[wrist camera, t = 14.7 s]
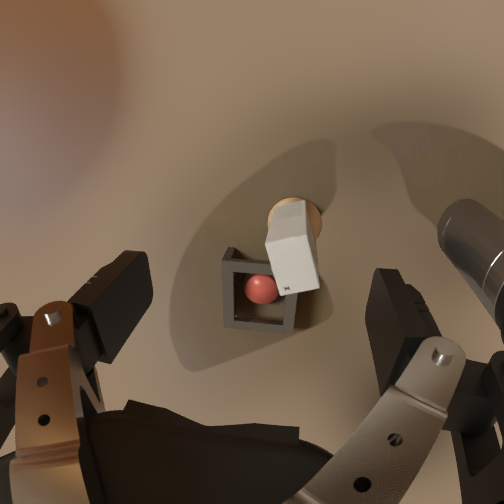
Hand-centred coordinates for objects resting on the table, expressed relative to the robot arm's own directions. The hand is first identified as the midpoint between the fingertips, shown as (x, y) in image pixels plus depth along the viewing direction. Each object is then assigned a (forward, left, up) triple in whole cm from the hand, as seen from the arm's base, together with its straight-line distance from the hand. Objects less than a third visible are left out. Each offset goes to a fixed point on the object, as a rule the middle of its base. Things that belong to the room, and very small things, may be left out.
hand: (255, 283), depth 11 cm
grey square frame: (+3, +19, -30) cm, 35 cm away
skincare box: (-1, +9, -29) cm, 31 cm away
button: (+3, +19, -29) cm, 35 cm away
